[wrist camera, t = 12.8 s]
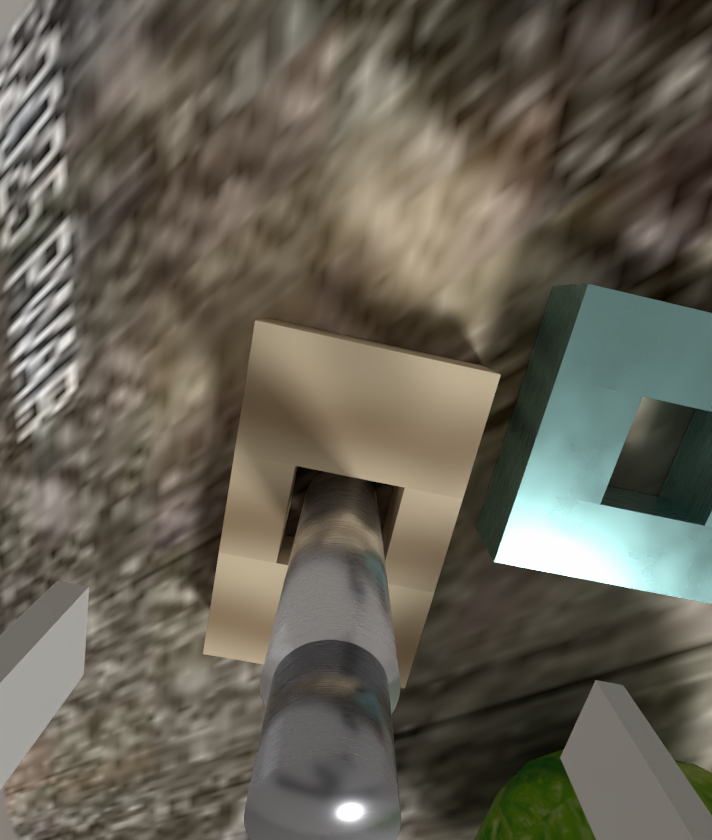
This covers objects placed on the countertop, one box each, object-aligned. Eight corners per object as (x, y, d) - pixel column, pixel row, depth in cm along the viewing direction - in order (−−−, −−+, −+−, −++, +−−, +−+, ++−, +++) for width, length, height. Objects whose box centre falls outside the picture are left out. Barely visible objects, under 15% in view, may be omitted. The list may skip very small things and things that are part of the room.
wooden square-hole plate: (266, 318, 20) (255, 320, 17) (483, 365, 20) (500, 374, 18) (218, 617, 24) (202, 653, 21) (399, 649, 24) (404, 688, 22)
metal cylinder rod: (312, 460, 21) (243, 734, 8) (384, 475, 22) (438, 765, 8) (298, 526, 22) (216, 872, 9) (368, 540, 23) (392, 897, 9)
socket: (553, 286, 19) (588, 283, 16) (803, 345, 20) (879, 352, 17) (475, 528, 22) (494, 562, 20) (696, 571, 23) (745, 610, 20)
